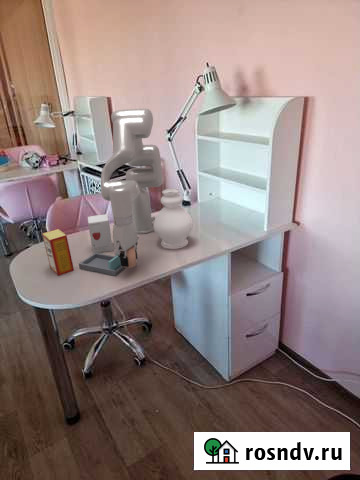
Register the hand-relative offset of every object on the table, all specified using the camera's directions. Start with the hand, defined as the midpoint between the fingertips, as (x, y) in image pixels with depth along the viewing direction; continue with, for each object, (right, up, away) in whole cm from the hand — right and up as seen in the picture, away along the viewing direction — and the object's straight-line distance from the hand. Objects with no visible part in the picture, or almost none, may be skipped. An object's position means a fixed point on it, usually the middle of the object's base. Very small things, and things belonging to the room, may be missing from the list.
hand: (129, 262), depth 131 cm
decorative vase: (+17, +7, +24) cm, 31 cm away
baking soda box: (-29, -4, +7) cm, 30 cm away
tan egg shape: (0, -1, 0) cm, 1 cm away
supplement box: (-16, +4, +23) cm, 29 cm away
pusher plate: (-6, -3, +4) cm, 8 cm away
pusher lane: (-11, -2, +7) cm, 13 cm away
